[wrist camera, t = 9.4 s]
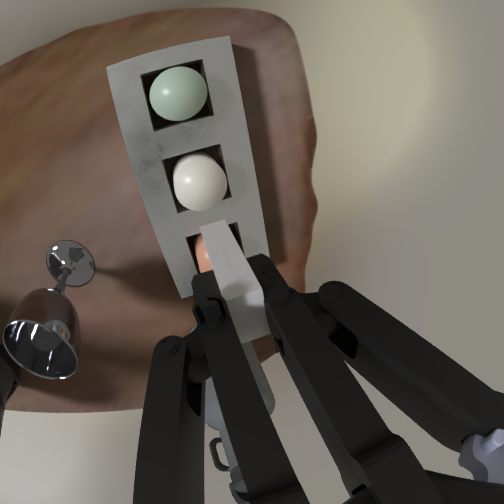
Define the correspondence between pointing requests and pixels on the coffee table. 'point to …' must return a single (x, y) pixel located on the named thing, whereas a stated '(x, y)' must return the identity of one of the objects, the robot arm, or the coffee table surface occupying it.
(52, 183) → the coffee table surface
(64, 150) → the coffee table surface
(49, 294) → the wine glass
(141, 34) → the coffee table surface
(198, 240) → the brown egg
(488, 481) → the robot arm
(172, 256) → the panel
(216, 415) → the water bottle
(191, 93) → the pale green rounded egg
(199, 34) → the coffee table surface
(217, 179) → the white egg
